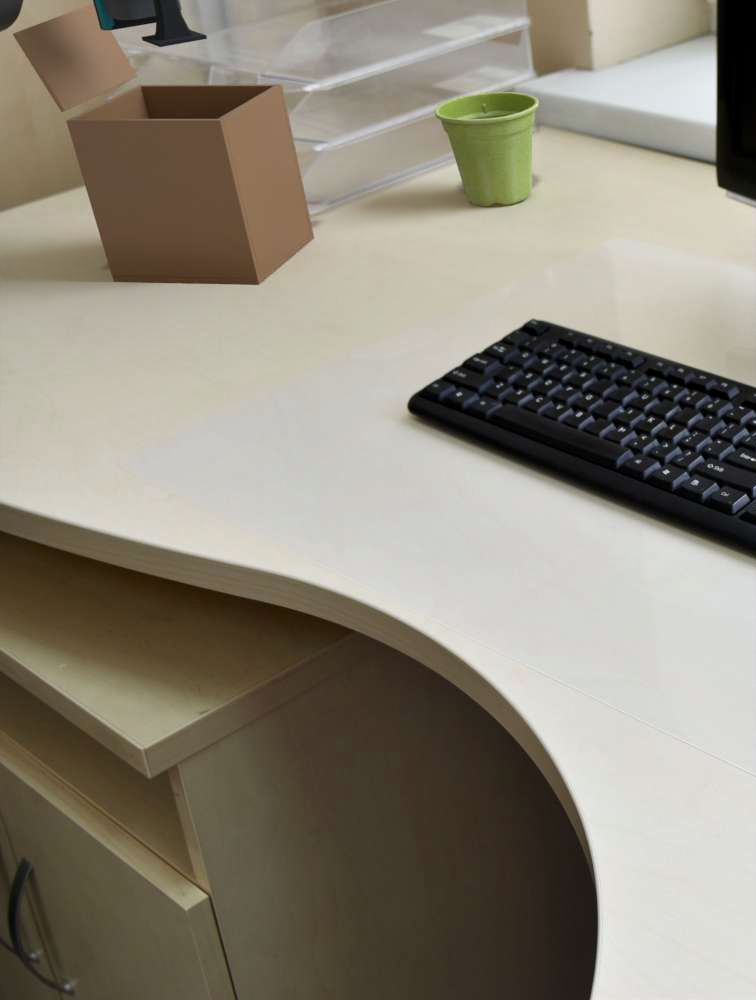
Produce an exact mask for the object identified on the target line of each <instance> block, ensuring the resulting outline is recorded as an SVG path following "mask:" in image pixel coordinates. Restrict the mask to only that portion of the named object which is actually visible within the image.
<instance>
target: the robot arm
mask: <svg viewBox="0 0 756 1000" xmlns="http://www.w3.org/2000/svg"><path fill="white" fill-rule="evenodd" d="M23 4H24V0H0V33H1V32H4V31H6V30H8V29H9V28H10V27H12V26H13V24H14V23H16V21H17V20H18V18H19V16H20V14H21V11H22V8H23Z"/></svg>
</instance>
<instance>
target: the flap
mask: <svg viewBox="0 0 756 1000" xmlns="http://www.w3.org/2000/svg"><path fill="white" fill-rule="evenodd" d="M12 36H13V38H14V39H15V41H16V42H17V44H18V46H19V47H20V49H21V50H22V52H23V54H24V55H25V57H26V59H27V60H28V61H29V63H30V64H31V66H32V68H33V69H34V71H35V73H36V74H37V76H38V77H39V79H40V81H41V82H42V84H43V86H44V87H45V89H46V90H47V92H48V94H49V95H50V97H51V99H52V100H53V101H54V103H55V104H56V106H57V107H58V109H59V111H60V112H61V113H63V112H66V111H68V110H70V109H72V108H74V107H76V106H78V105H81V104H82V103H85V102H87V101H89V100H91V99H93V98H95V97H97V96H99V95H102V94H103V93H105V92H108V91H110V90H111V89H114V88H116V87H118V86H121V85H122V84H124V83H126V82H128V81H131V80H133V79H135V78H137V77H138V74H137V72H136V70H135V69H134V67H133V66H132V64H131V62H130V60H129V59H128V58H127V55H126V53H125V52H124V50H123V49H122V47H121V46H120V44H119V42H118V40H117V38H116V37H115V35H114V34H113V32H112V30H106V31H104V30H101V29H100V25H99V21H98V17H97V14H96V10H95V6H94V2H93V3H90V4H88V5H86V6H83V7H80V8H78V9H75V10H72V11H70V12H67V13H64V14H62V15H59V16H56V17H54V18H51V19H48V20H45V21H42V22H40V23H37V24H35V25H32V26H29V27H26V28H24V29H21V30H18V31H16V32H14V33H12Z"/></svg>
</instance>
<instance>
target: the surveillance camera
mask: <svg viewBox="0 0 756 1000" xmlns="http://www.w3.org/2000/svg"><path fill="white" fill-rule="evenodd" d="M92 2H93V3H94V6H95V10H96V14H97V17H98V21H99V25H100V29H101V30H104V31H106V30H111V31H115V30H121V29H127V28H133V27H138V26H145V25H151V24H155V32H154V34H151V35H145V36H141V41H143V42H146V43H148V44H150V45H153V46H156V47H159V48H164V47H169V46H175V45H180V44H181V45H182V44H186V43H191V42H197V41H203V40H207V39H208V36H207V34H203V33H200V32H197V31H195V30H193V29H191V28H189V26H188V24H187V22H186V20H185V18H184V16H183V14H182V11H183V9H182V5H181V1H180V0H92Z"/></svg>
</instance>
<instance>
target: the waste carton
mask: <svg viewBox="0 0 756 1000" xmlns="http://www.w3.org/2000/svg"><path fill="white" fill-rule="evenodd" d="M290 121H291V120H290V117H289V111H288V107H287V102H286V97H285V93H284V88H283V85H282V83H281V84H280V83H278V84H276V83H273V84H272V83H271V84H270V83H269V84H268V83H265V84H263V83H262V84H261V83H260V84H259V83H258V84H257V83H256V84H252V83H251V84H250V83H249V84H246V83H245V84H243V83H241V84H235V83H233V84H137V85H135V86H133V87H131V88H129V89H128V90H126V91H124V92H122V93H120V94H118V95H115V96H113V97H111V98H109V99H107V100H104V101H103V102H101V103H99V104H96V105H95V106H93V107H91V108H88V109H86V110H85V111H83V112H81V113H78V114H77V115H75V116H73V117H70V118H69V119H67V120H66V125H67V128H68V132H69V135H70V138H71V142H72V144H73V145H72V146H73V148H74V152H75V155H76V159H77V163H78V165H79V169H80V173H81V176H82V180H83V182H84V186H85V190H86V193H87V197H88V199H89V204H90V206H91V210H92V214H93V217H94V220H95V223H96V227H97V230H98V233H99V237H100V240H101V241H100V242H101V244H102V247H103V251H104V253H105V257H106V260H107V264H108V267H109V271H110V275H111V278H112V281H113V283H152V284H153V283H159V284H163V283H164V284H206V285H207V284H209V285H210V284H211V285H260V284H261V283H263V282H264V281H265V280H267V279H268V278H269V277H270V276H271V275H272V274H274V273H275V272H276V271H277V270H278V269H279V268H280V267H282V266H283V265H285V263H286V262H288V261H289V260H290V259H291V258H293V256H295V255H296V254H297V253H298V252H299V251H301V250H302V249H303V248H305V246H307V245H308V244H309V243H310V242H311V241H312V240H314V239H315V235H314V230H313V225H312V221H311V215H310V211H309V206H308V202H307V197H306V193H305V187H304V182H303V178H302V173H301V169H300V163H299V159H298V154H297V150H296V145H295V140H294V135H293V130H292V126H291V122H290Z"/></svg>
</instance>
